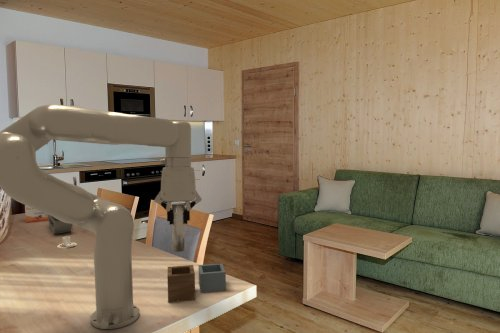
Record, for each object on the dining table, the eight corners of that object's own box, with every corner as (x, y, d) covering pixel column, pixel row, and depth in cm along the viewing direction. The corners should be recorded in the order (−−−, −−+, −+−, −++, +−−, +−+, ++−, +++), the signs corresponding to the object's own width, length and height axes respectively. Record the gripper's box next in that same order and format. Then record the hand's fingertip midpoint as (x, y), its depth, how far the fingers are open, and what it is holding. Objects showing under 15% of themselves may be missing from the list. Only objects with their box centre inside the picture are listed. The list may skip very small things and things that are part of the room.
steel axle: (185, 251, 114) (185, 205, 113) (171, 252, 113) (171, 205, 112) (184, 247, 118) (184, 202, 117) (171, 248, 117) (171, 203, 116)
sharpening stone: (73, 234, 185) (72, 212, 184) (55, 237, 181) (54, 214, 179) (64, 224, 205) (63, 204, 204) (48, 226, 201) (47, 206, 200)
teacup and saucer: (76, 248, 165) (75, 239, 165) (56, 250, 162) (55, 241, 162) (77, 242, 173) (77, 234, 173) (58, 244, 170) (57, 235, 170)
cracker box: (25, 223, 208) (23, 185, 206) (26, 220, 213) (23, 183, 211) (54, 220, 215) (52, 183, 213) (54, 217, 220) (52, 182, 218)
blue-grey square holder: (225, 290, 121) (225, 272, 121) (200, 292, 120) (200, 274, 119) (222, 280, 129) (222, 263, 129) (198, 282, 128) (198, 265, 127)
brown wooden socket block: (195, 299, 115) (194, 274, 114) (168, 302, 113) (167, 276, 112) (193, 289, 122) (193, 265, 122) (168, 291, 121) (167, 266, 120)
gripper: (148, 164, 108) (149, 227, 110) (207, 163, 111) (207, 225, 113) (150, 162, 115) (150, 221, 117) (205, 162, 119) (205, 219, 120)
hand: (178, 222), depth 115 cm, fingers closed on steel axle, 4 cm apart
